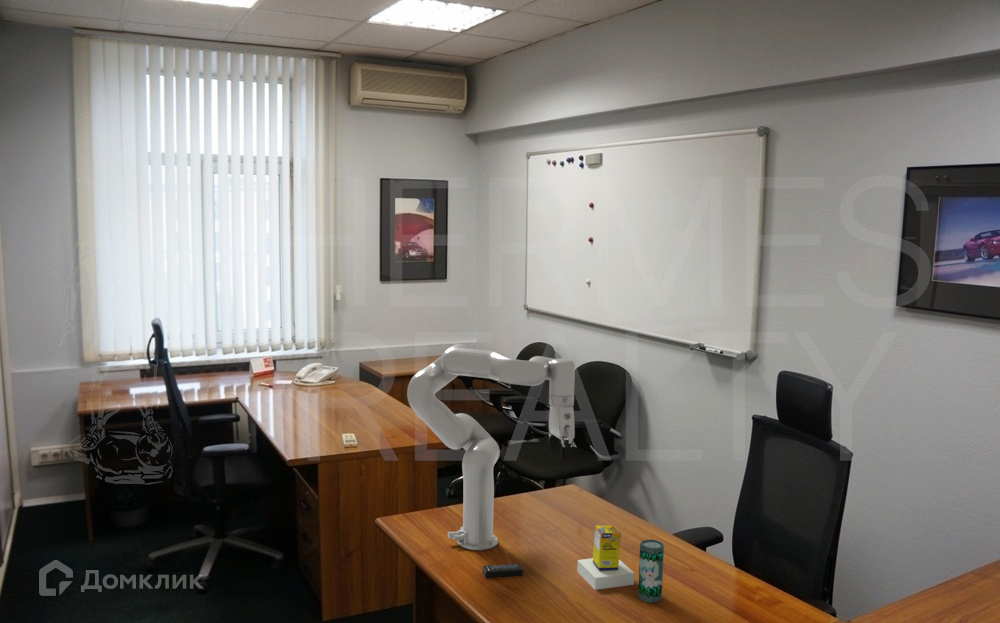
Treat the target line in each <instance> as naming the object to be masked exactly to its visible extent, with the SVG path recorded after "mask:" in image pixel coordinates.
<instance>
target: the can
mask: <svg viewBox="0 0 1000 623" xmlns="http://www.w3.org/2000/svg"><path fill="white" fill-rule="evenodd" d="M664 550H665V543H664V542H662V541H661V540H657V539H648V538H646V539H643V540H641V541H640V543H639V559H638V560H639V562H638V563H639V564H638V565H639V566H638V588H637V589H638V591H637V598H638V599H640V600H641V601H642V602H644V603H649V602H650V603H651V604H653V602H655V603H660V602H661V601H662V599H661V598H663V580H664V579H663V578H664V576H663V575H664V558H665V555H664V554H665V551H664ZM659 600H660V601H659ZM657 601H658V602H657Z"/></svg>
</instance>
